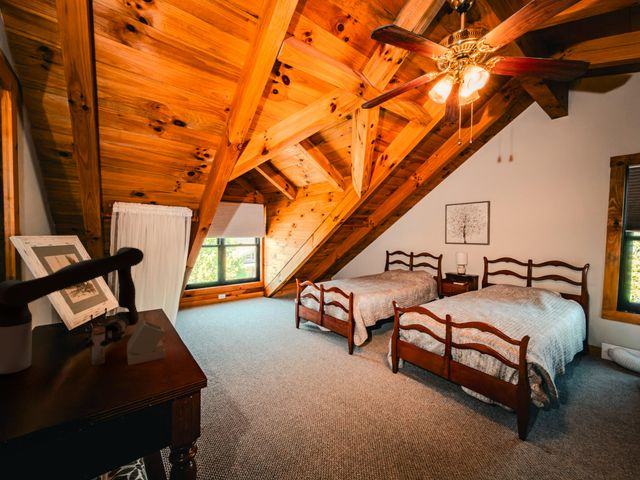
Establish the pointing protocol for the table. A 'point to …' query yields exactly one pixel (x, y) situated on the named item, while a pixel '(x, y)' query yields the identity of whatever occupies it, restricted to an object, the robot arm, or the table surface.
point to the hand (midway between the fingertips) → (95, 344)
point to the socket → (146, 343)
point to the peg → (98, 345)
